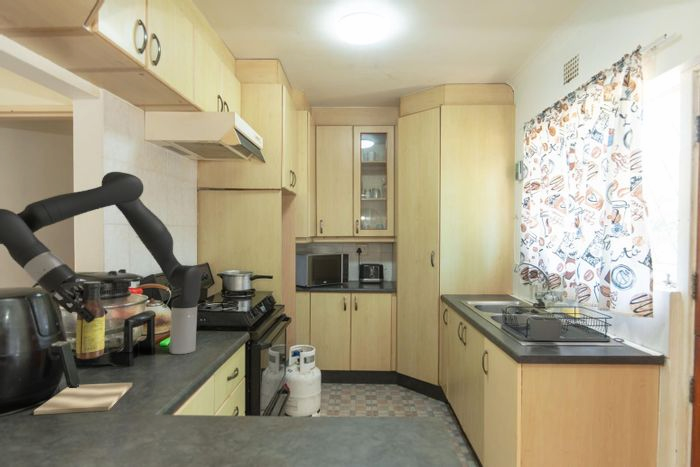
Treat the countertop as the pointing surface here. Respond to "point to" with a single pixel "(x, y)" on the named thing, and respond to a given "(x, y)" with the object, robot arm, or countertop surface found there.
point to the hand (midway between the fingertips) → (98, 317)
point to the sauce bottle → (91, 324)
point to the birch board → (84, 398)
